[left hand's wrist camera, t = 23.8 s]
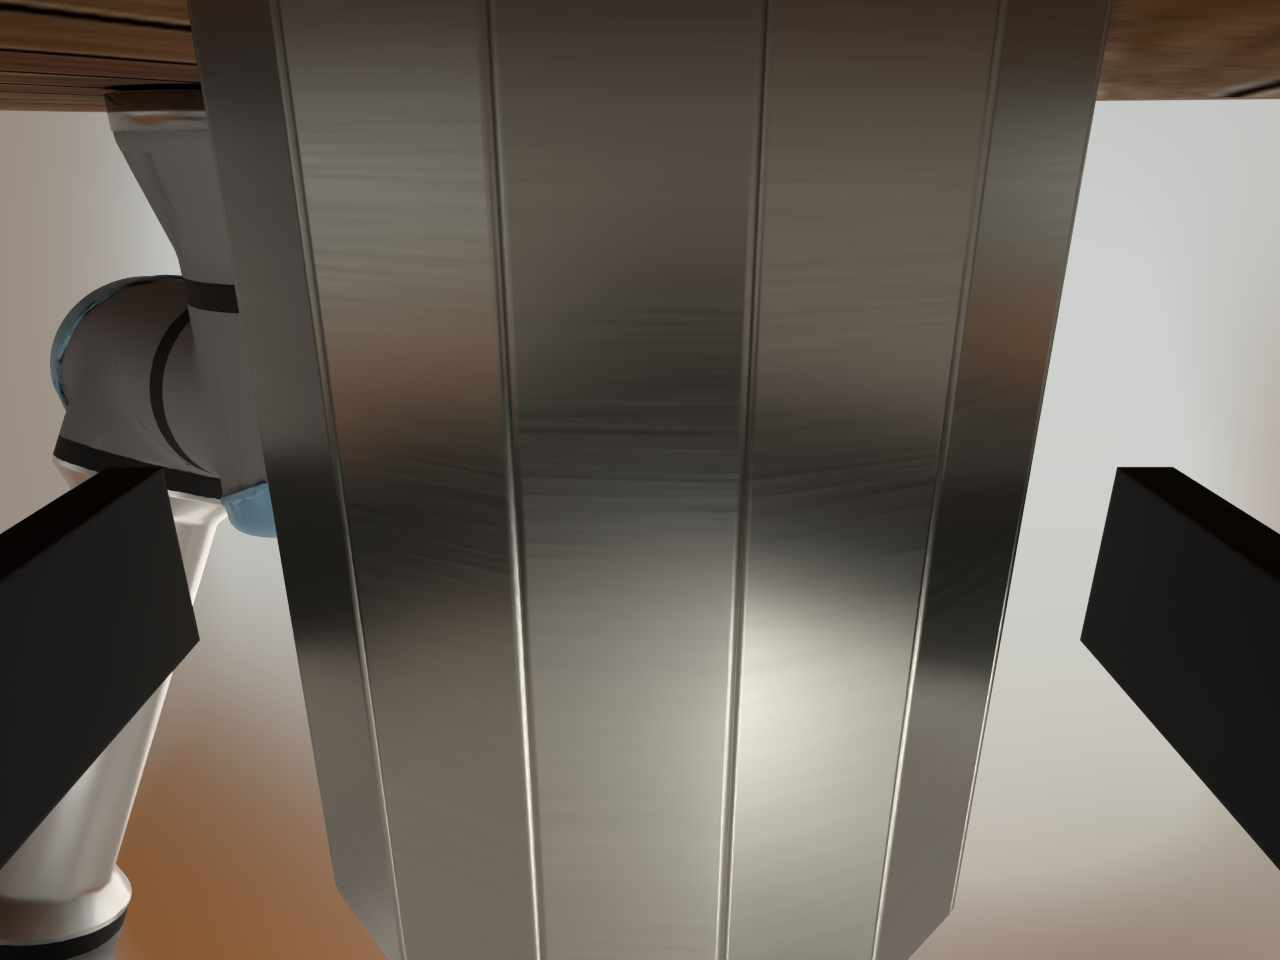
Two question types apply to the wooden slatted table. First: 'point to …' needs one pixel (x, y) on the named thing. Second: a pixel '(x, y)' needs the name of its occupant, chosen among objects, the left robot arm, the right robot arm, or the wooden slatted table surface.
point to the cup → (648, 443)
